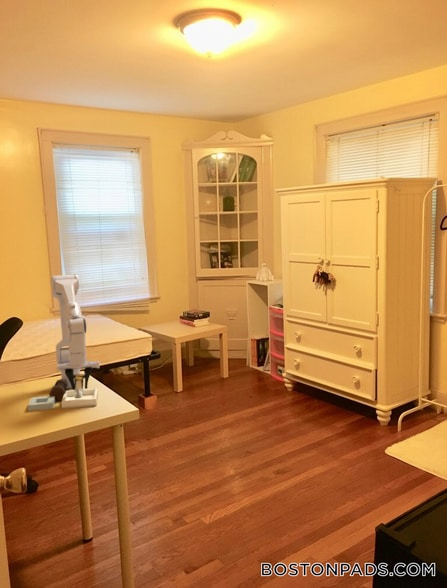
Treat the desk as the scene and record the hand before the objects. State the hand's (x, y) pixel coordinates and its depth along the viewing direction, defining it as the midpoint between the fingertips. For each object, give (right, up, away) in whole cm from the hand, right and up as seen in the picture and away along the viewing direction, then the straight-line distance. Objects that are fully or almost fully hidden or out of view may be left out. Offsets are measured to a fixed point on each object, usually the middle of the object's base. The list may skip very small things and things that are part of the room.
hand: (79, 388), depth 175 cm
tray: (0, -5, +1) cm, 5 cm away
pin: (-1, -3, 0) cm, 3 cm away
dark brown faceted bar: (-10, -4, +9) cm, 14 cm away
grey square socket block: (-12, -6, -3) cm, 14 cm away
